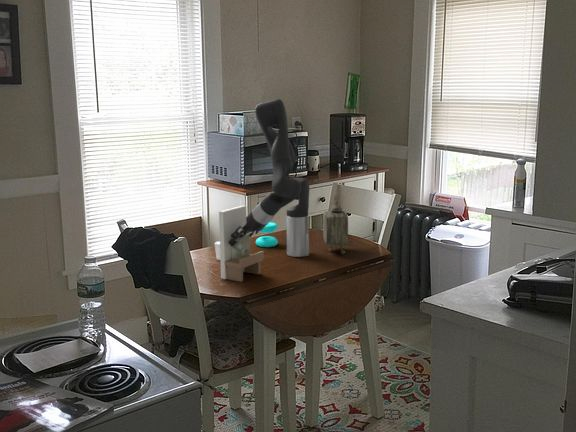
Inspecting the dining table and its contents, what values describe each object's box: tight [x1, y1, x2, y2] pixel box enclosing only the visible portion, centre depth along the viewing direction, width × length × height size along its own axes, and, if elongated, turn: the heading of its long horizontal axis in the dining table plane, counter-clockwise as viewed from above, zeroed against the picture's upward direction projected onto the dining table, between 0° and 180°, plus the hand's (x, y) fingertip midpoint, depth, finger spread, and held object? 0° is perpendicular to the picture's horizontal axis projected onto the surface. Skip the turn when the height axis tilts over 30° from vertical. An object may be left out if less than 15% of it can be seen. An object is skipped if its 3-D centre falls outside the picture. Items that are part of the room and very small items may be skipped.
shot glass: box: [214, 240, 220, 261], centre depth 267 cm, size 7×7×7 cm
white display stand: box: [218, 205, 265, 283], centre depth 240 cm, size 10×14×26 cm
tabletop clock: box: [322, 194, 349, 255], centre depth 275 cm, size 14×9×25 cm, turn 4°
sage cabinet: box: [231, 233, 251, 260], centre depth 240 cm, size 6×6×10 cm
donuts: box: [255, 221, 279, 248], centre depth 288 cm, size 10×10×10 cm
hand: (237, 242), depth 242 cm, fingers open, 8 cm apart
